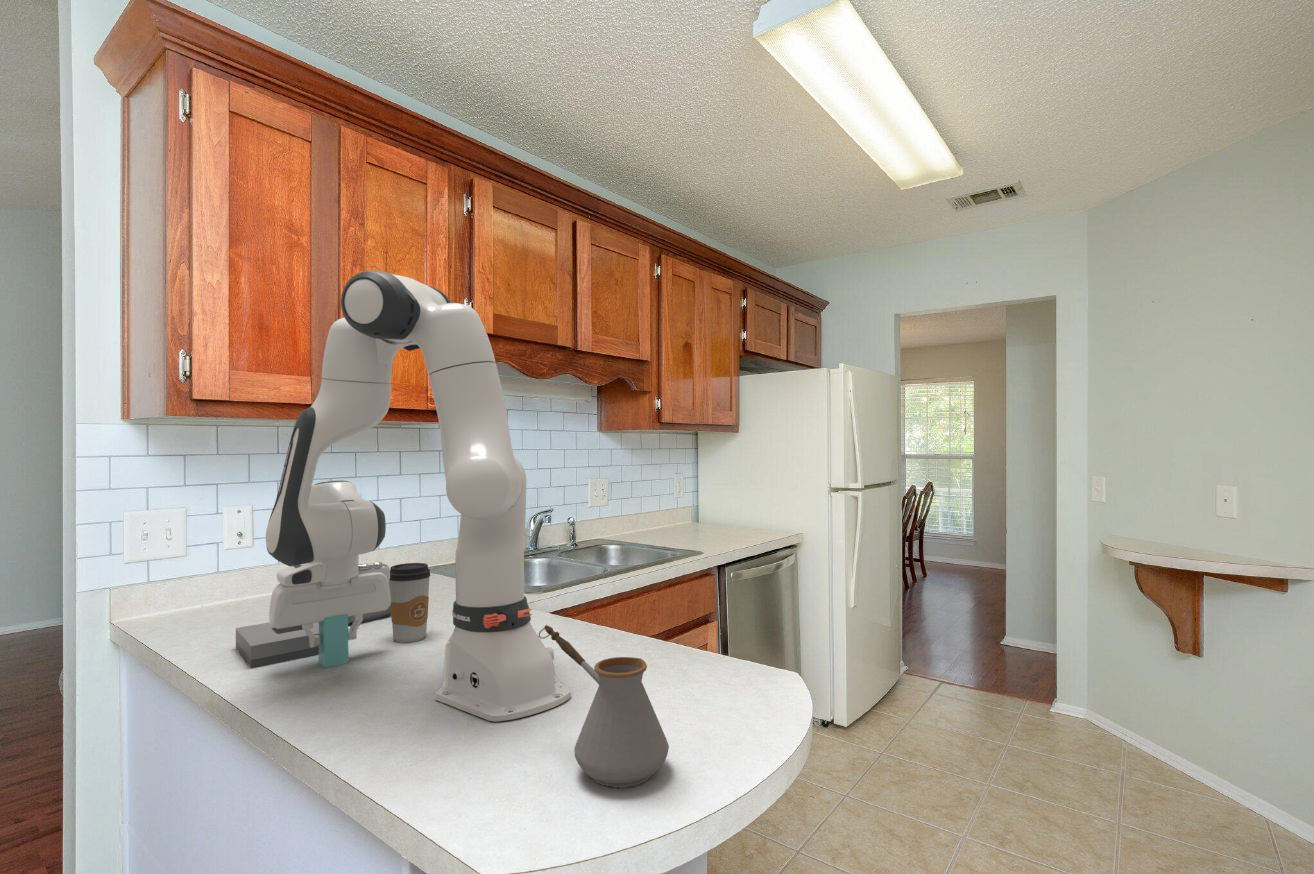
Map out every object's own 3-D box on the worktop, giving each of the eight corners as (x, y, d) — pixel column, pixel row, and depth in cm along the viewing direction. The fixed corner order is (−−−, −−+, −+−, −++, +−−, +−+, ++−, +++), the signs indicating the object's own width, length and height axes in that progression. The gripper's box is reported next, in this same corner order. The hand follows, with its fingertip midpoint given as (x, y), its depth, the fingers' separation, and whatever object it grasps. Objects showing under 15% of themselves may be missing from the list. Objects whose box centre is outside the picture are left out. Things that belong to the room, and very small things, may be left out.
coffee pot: (688, 769, 78) (687, 646, 79) (619, 809, 70) (617, 670, 70) (577, 719, 93) (576, 615, 93) (509, 747, 85) (508, 633, 85)
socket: (345, 648, 128) (345, 628, 128) (251, 668, 117) (250, 646, 117) (323, 631, 140) (322, 613, 140) (235, 648, 129) (235, 628, 129)
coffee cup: (402, 647, 128) (402, 571, 128) (380, 639, 133) (379, 567, 133) (439, 636, 135) (438, 565, 135) (416, 630, 140) (416, 561, 140)
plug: (348, 662, 119) (347, 613, 120) (324, 667, 117) (324, 617, 117) (341, 657, 122) (341, 609, 123) (318, 662, 120) (318, 613, 120)
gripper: (384, 558, 129) (384, 628, 129) (266, 573, 115) (267, 650, 115) (395, 562, 124) (396, 634, 124) (274, 578, 111) (275, 659, 111)
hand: (333, 642), depth 120 cm, fingers open, 5 cm apart
